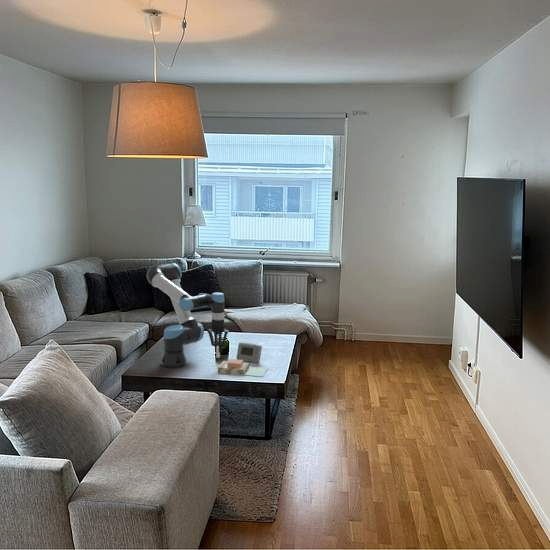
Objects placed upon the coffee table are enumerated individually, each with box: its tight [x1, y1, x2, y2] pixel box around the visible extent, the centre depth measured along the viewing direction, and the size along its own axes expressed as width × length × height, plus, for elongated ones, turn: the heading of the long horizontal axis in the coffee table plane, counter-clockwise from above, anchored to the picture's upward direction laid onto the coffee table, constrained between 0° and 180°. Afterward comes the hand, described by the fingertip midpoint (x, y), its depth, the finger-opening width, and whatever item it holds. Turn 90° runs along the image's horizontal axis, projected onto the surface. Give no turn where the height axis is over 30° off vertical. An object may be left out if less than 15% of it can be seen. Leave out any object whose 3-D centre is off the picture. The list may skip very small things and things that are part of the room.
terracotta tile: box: [227, 358, 244, 368], centre depth 324 cm, size 8×7×2 cm
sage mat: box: [244, 366, 269, 378], centre depth 323 cm, size 11×14×1 cm
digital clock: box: [235, 342, 263, 364], centre depth 342 cm, size 16×9×11 cm, turn 56°
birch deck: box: [217, 360, 250, 376], centre depth 325 cm, size 16×12×3 cm
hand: (218, 357), depth 326 cm, fingers closed
